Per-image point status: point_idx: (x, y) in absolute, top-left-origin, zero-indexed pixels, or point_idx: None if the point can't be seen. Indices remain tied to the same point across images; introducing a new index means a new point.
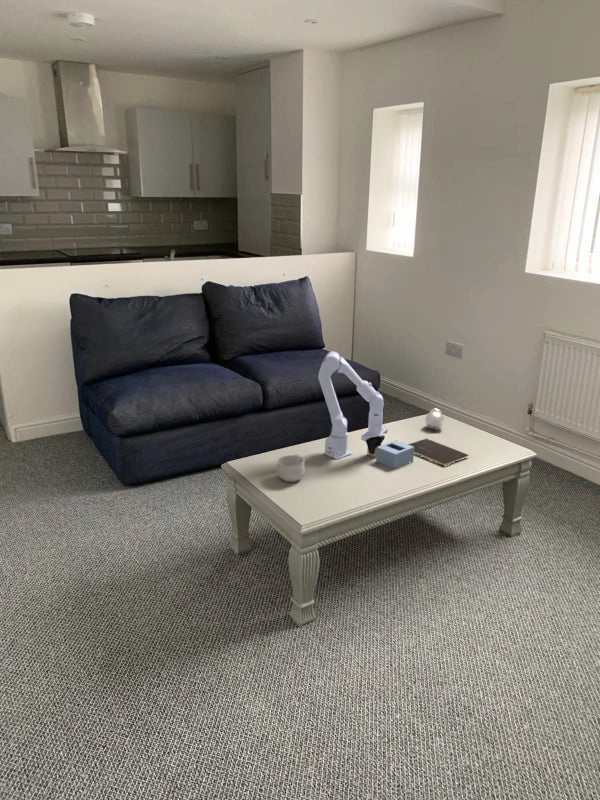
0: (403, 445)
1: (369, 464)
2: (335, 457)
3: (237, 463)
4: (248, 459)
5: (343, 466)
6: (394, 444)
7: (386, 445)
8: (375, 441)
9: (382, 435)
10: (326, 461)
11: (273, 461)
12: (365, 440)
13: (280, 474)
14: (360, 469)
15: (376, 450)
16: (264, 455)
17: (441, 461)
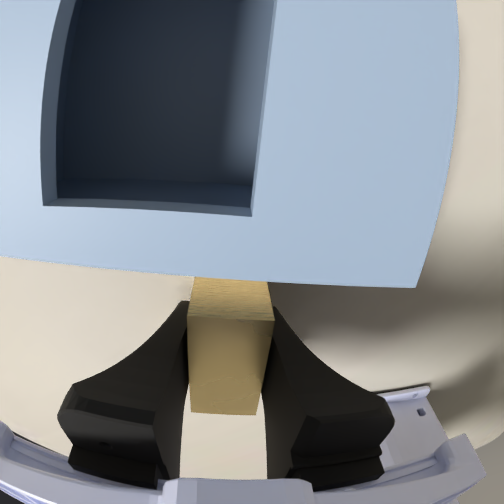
0: (10, 3)
1: None
2: (423, 396)
3: (495, 436)
4: (475, 447)
5: (489, 308)
6: (45, 136)
7: (213, 211)
8: (340, 406)
9: (217, 495)
10: (456, 385)
11: (480, 430)
12: (460, 439)
13: None
14: (498, 214)
15: (268, 301)
16: None
17: None
